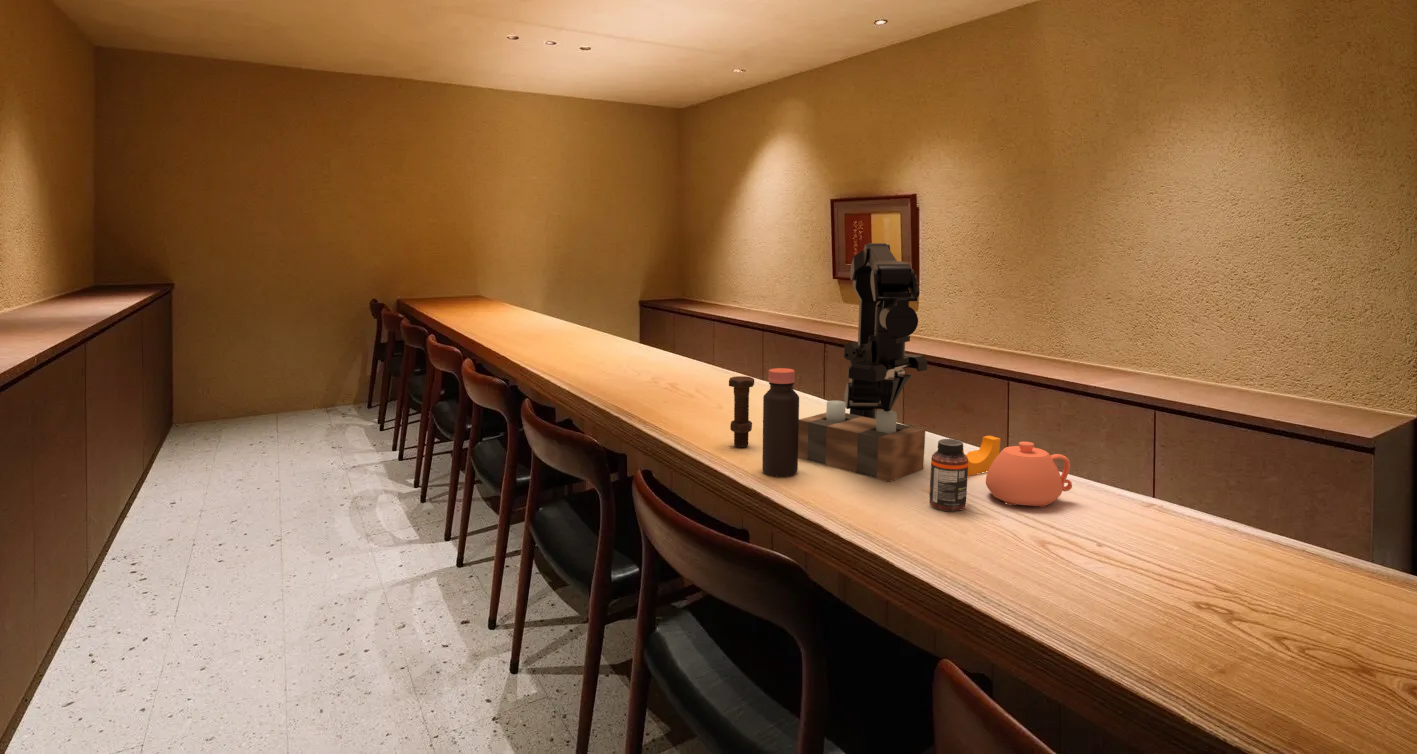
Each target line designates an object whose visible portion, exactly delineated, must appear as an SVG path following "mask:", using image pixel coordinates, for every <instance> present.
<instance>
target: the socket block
mask: <svg viewBox="0 0 1417 754" xmlns="http://www.w3.org/2000/svg"><path fill="white" fill-rule="evenodd" d="M925 445H926V428H923V427H917V426H912V425H907V424H903V423H897V422H896V432H894V433H891V434H887V433H883V432H878V431H876V419H873V418H868V417H863V416H858V415H853V414H850V413H848V412H847V413H846V412H845V421H843V422H840V423H836V422H831V421H826V412H823V413H819V414H815V415H811V416H808V417H802V418H799V434H798V459H801V460H804V461H807V462H808V461H809V462H813V463H817V464H820V465H823V466H828V467H830V468H831V467H832V468H833V469H834V468H835V469H838V470H842V471H845V472H849V471H850V472H849V473H853V474H858V475H861V476H865V477H869V478H873V479H876V480H880V481H884V482H888V483H890V482H892V481H895V480H898V479H900V478H903V477H905V476H909V475H910V474H913V473H916V472H918V471H921V470H923V469H924V464H925V463H924V461H925V460H924V459H925Z"/></svg>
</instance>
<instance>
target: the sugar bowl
mask: <svg viewBox="0 0 1417 754" xmlns="http://www.w3.org/2000/svg"><path fill="white" fill-rule="evenodd" d="M1054 460H1063V462H1064V467H1063V470H1062V473H1060V470H1059V468H1058V466H1057V465H1056V463H1055V462H1054ZM1070 469H1071V462H1070V459H1069V458H1068V457H1067V456H1065V455H1064V454H1060V453H1054V454H1051V455H1050V453H1049V452H1047V450H1044V449H1041V448H1039V447H1035V443H1034V442H1030V441H1019V442H1018V445H1012V446H1011V445H1010V446H1007V447H1005V448H1003V449H1002V450H1001V451H1000V453H999V455H998V456H997V457H996V458H995V460H994V461H993V463H992V464H991V466H990V468H989V470H988V472H986V477H985V485H986V487H987V490H988V491H990V493H991V494H992V496H993V497H994V498H996V499H998V500H1001V501H1003V502H1004V504H1005V503H1007V504H1011V505H1010V506H1016V505H1015V504H1017V505H1021V506H1033V507H1034V506H1035V507H1038V506H1042V507H1041V508H1044V507H1043V506H1046V507H1047V505H1050V504H1052V503H1053V502H1054V501H1057V500H1058V498H1060V496H1061V495H1062V493H1063V492H1068V491H1071V489H1072V488H1073V484H1072V481H1071V479H1067V477H1068V476H1069V473H1070ZM1065 484H1067V485H1065ZM1007 504H1006V505H1007Z"/></svg>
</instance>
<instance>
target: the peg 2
mask: <svg viewBox="0 0 1417 754" xmlns="http://www.w3.org/2000/svg"><path fill="white" fill-rule="evenodd" d="M897 417H898V412H897V411H896V410H892V409H891V410H890V411H888V412H887V411H884V410H883V409H877V416H876V431H878V432H883V433H887V434H891V433H894V432H896V423H897V419H898V418H897Z"/></svg>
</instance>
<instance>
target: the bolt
mask: <svg viewBox="0 0 1417 754" xmlns="http://www.w3.org/2000/svg"><path fill="white" fill-rule="evenodd" d="M754 385H755V378H754V377H751V376H745V375H744V376H743V375H741V376H738V375H737V376H732V377H729V380H728V387H731V388H732V387H733V395H734V396H733V404H734V405H733V406H734V407H733V417H734V419H733V420H732V421H731V422H730V427H729V428H730V431H731V432H733V446H734V447H735V448H747V447H749V438H750V437H749V432H751V431H752V429H753V422H752V421H751V420H749V418H750V417H749V416H750V414H749V413H750V410H749V409H750V408H749V406H750V403H749V402H750V401H749V400H750V388H753V387H754Z"/></svg>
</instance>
